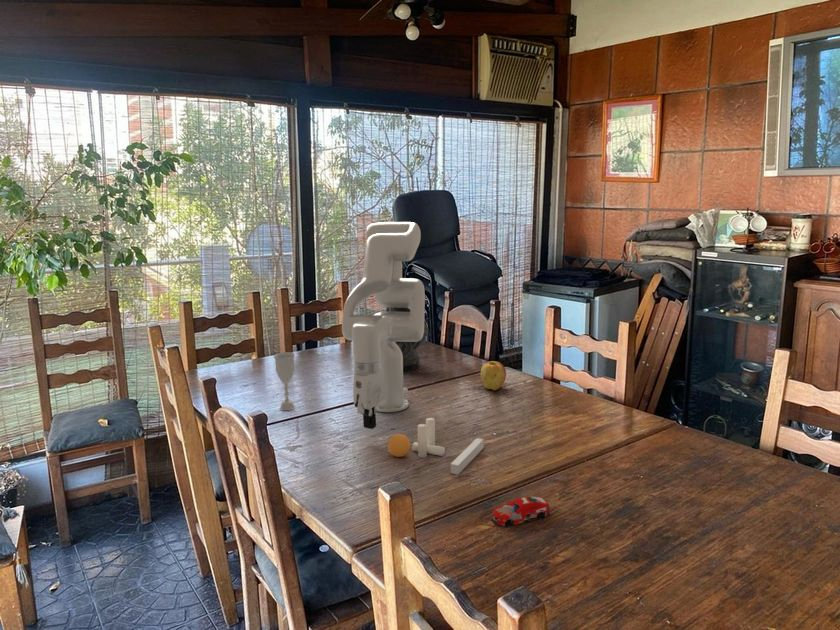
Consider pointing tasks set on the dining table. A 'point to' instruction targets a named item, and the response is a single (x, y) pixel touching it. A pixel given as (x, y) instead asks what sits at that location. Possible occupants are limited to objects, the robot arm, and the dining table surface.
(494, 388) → the apple
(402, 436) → the ball
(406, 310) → the beer stein
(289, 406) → the chalice
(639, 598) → the dining table surface
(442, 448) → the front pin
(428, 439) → the pin
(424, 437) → the pin
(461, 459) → the white rectangular bar
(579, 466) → the dining table surface
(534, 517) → the race car
